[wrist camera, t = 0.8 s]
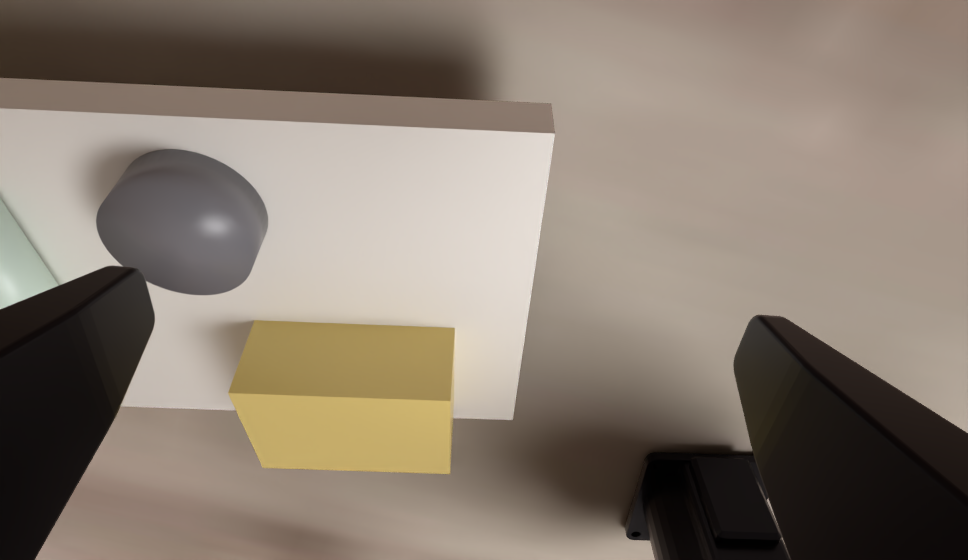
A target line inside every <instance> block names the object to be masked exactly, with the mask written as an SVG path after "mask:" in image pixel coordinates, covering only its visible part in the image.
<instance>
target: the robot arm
mask: <svg viewBox="0 0 968 560" xmlns="http://www.w3.org/2000/svg"><path fill="white" fill-rule="evenodd" d="M154 324H155V313H154V309H153V305H152V302H151V298H150V294H149V290H148V287H147V283H146V279H145V276H144V274H143V273H142V271H141V270H140V269H138V268H136V267H125V266H106V267H103V268H101V269H98V270H96V271H93V272H91V273H89V274H86V275H84V276H81V277H79V278H76V279H74V280H71V281H69V282H66V283H64V284H61V285H59V286H56V287H54V288H52V289H49V290H47V291H44V292H42V293H39V294H37V295H34V296H32V297H29V298H27V299H24V300H22V301H19V302H17V303H15V304H12V305H10V306H7V307H5V308H2V309H0V560H35V558H36V556H37V555H38V553H39V551H40V549H41V548H42V546H43V544H44V542H45V541H46V539H47V537H48V535H49V534H50V532H51V530H52V528H53V527H54V525H55V523H56V521H57V520H58V518H59V516H60V514H61V513H62V511H63V509H64V507H65V506H66V504H67V502H68V500H69V498H70V497H71V495H72V493H73V491H74V490H75V488H76V486H77V484H78V483H79V481H80V479H81V477H82V476H83V474H84V472H85V470H86V469H87V467H88V465H89V463H90V462H91V460H92V458H93V456H94V455H95V453H96V451H97V449H98V448H99V446H100V444H101V442H102V441H103V439H104V437H105V435H106V434H107V432H108V430H109V428H110V426H111V424H112V423H113V421H114V419H115V417H116V415H117V413H118V410H119V408H120V406H121V404H122V402H123V399H124V397H125V395H126V392H127V390H128V388H129V385H130V383H131V381H132V378H133V376H134V374H135V371H136V369H137V367H138V364H139V362H140V360H141V357H142V355H143V352H144V350H145V348H146V345H147V343H148V341H149V338H150V336H151V334H152V331H153V328H154ZM734 374H735V378H736V382H737V387H738V391H739V395H740V400H741V404H742V408H743V412H744V417H745V421H746V425H747V430H748V434H749V438H750V442H751V446H752V450H753V454H754V456H743V455H713V454H684V453H652V454H649V455H648V456H647V457H646V459H645V461H644V465H643V468H642V472H641V475H640V478H639V482H638V485H637V489H636V492H635V495H634V499H633V502H632V506H631V509H630V512H629V516H628V519H627V523H626V526H625V531H626V536H627V537H628V538H629V539H631V540H650V541H651V545H652V550H653V554H654V558H655V560H968V433H967V432H965V431H963V430H962V429H960V428H959V427H957V426H955V425H954V424H952V423H951V422H949V421H948V420H946V419H944V418H943V417H941V416H940V415H938V414H936V413H935V412H933V411H932V410H930V409H929V408H927V407H925V406H924V405H922V404H921V403H919V402H917V401H916V400H914V399H913V398H911V397H909V396H908V395H906V394H905V393H903V392H902V391H900V390H898V389H897V388H895V387H894V386H892V385H890V384H889V383H887V382H886V381H884V380H883V379H881V378H879V377H878V376H876V375H875V374H873V373H871V372H870V371H868V370H867V369H865V368H864V367H862V366H860V365H859V364H857V363H856V362H854V361H852V360H851V359H849V358H848V357H846V356H845V355H843V354H841V353H840V352H838V351H837V350H835V349H833V348H832V347H830V346H829V345H827V344H826V343H824V342H822V341H821V340H819V339H818V338H816V337H814V336H813V335H811V334H810V333H808V332H807V331H805V330H803V329H802V328H800V327H799V326H797V325H795V324H794V323H792V322H791V321H789V320H788V319H786V318H784V317H781V316H769V315H756V316H754V317H753V318H752V319H751V320H750V322H749V323H748V326H747V328H746V330H745V333H744V335H743V338H742V340H741V342H740V345H739V347H738V350H737V352H736V355H735V358H734ZM768 498H769V501H770V504H771V507H772V509H773V512H774V515H775V518H776V520H775V518H774V516H773V513H772V511H771V509H770V507H769V505H768V502H767V499H768ZM776 521H777V522H776ZM777 523H778V525H777ZM778 526H779V527H778ZM782 537H783V540H784V542H783V540H782ZM784 543H785V544H784ZM786 548H787V549H786Z"/></svg>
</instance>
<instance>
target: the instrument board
mask: <svg viewBox="0 0 968 560" xmlns="http://www.w3.org/2000/svg"><path fill="white" fill-rule="evenodd" d="M554 136H555V131H554V122H553V114H552V106H551V103H530V102H508V101H487V100H465V99H444V98H422V97H401V96H379V95H358V94H337V93H315V92H294V91H272V90H251V89H229V88H208V87H186V86H165V85H144V84H122V83H101V82H79V81H58V80H36V79H15V78H0V309H2V308H5V307H7V306H10V305H12V304H15V303H17V302H19V301H22V300H24V299H27V298H29V297H32V296H34V295H37V294H39V293H42V292H44V291H47V290H49V289H52V288H54V287H56V286H59V285H61V284H64V283H66V282H69V281H71V280H74V279H76V278H79V277H81V276H84V275H86V274H89V273H91V272H93V271H96V270H98V269H101V268H103V267H106V266H125V267H136V268H138V269H140V270H141V271H142V273H143V274H144V276H145V279H146V283H147V287H148V290H149V294H150V298H151V302H152V305H153V309H154V313H155V324H154V328H153V331H152V334H151V336H150V338H149V341H148V343H147V345H146V348H145V350H144V352H143V355H142V357H141V360H140V362H139V364H138V367H137V369H136V371H135V374H134V376H133V378H132V381H131V383H130V385H129V388H128V390H127V392H126V395H125V397H124V399H123V402H122V404H121V406H124V407H153V408H181V409H209V410H236V411H237V414H238V416H239V418H240V420H241V422H242V424H243V426H244V429H245V431H246V433H247V435H248V437H249V439H250V441H251V443H252V446H253V448H254V450H255V452H256V454H257V456H258V458H259V461H260V463H261V465H262V467H263V468H284V469H314V470H344V471H374V472H404V473H435V474H450V465H451V447H452V430H453V418H465V419H493V420H513V414H514V408H515V401H516V394H517V387H518V380H519V374H520V367H521V360H522V353H523V347H524V340H525V333H526V326H527V319H528V313H529V306H530V299H531V292H532V285H533V279H534V272H535V265H536V258H537V252H538V245H539V238H540V231H541V224H542V218H543V211H544V204H545V197H546V190H547V184H548V177H549V170H550V163H551V157H552V150H553V143H554Z"/></svg>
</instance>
